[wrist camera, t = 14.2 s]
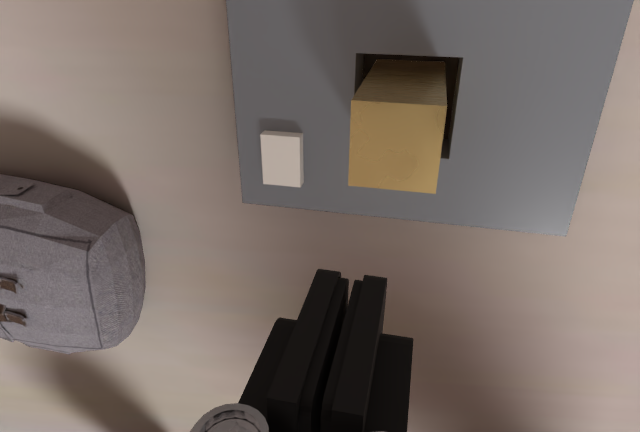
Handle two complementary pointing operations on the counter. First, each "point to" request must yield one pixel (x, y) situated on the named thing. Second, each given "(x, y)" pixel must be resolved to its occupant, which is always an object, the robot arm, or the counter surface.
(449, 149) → the socket
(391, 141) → the plug
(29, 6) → the counter surface
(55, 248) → the soft grey pack
